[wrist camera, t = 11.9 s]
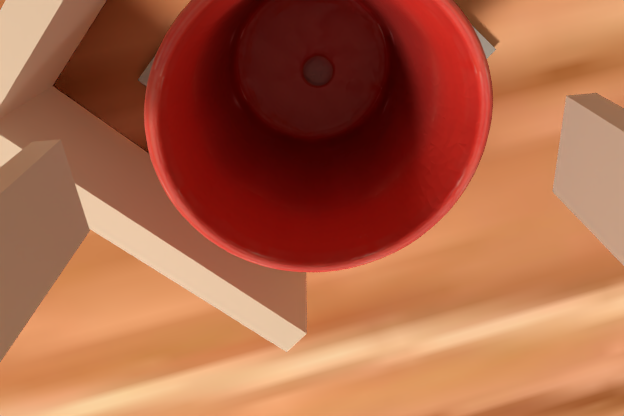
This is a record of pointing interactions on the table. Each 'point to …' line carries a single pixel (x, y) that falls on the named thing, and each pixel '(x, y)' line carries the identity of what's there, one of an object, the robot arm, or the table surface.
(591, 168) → the robot arm
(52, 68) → the corner wall
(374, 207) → the flower pot
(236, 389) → the table surface
